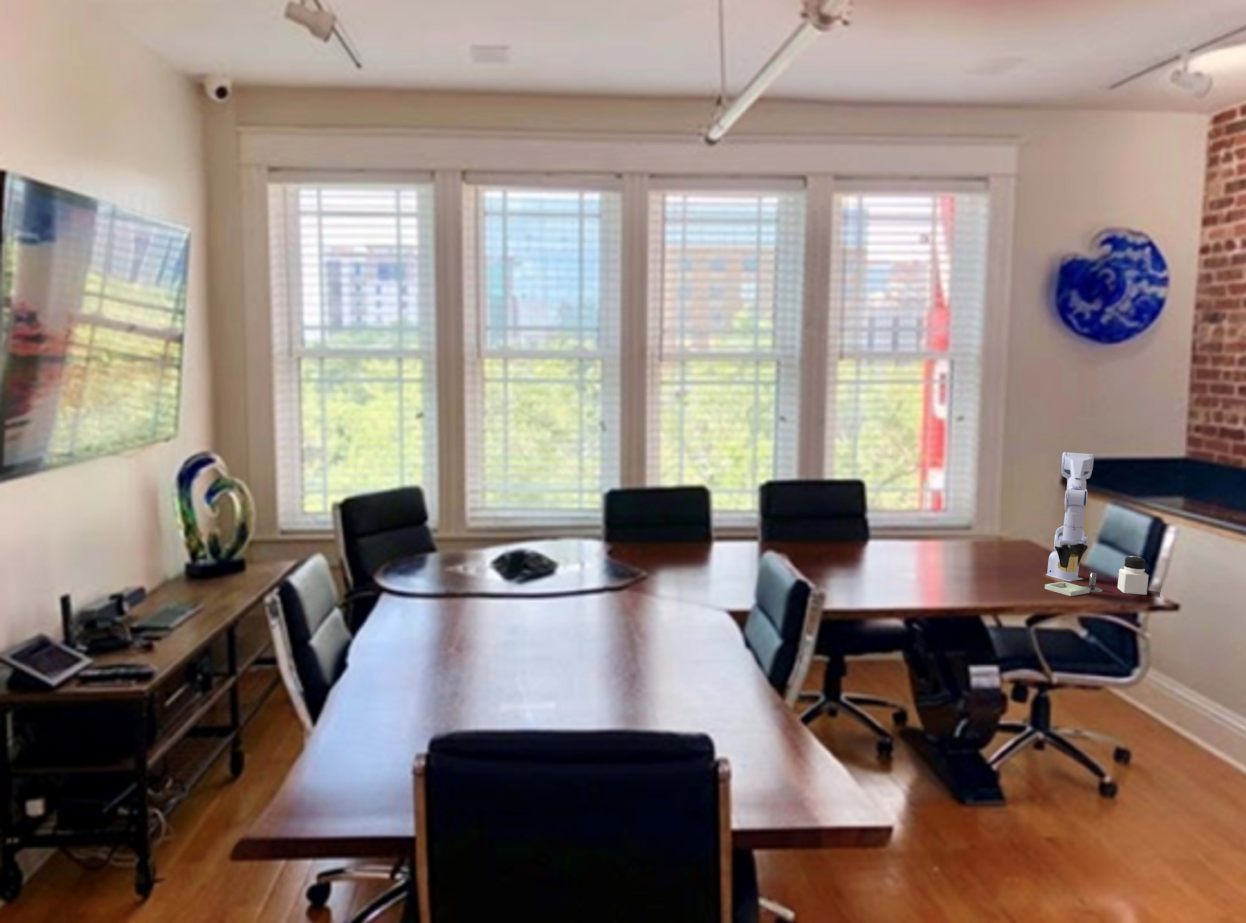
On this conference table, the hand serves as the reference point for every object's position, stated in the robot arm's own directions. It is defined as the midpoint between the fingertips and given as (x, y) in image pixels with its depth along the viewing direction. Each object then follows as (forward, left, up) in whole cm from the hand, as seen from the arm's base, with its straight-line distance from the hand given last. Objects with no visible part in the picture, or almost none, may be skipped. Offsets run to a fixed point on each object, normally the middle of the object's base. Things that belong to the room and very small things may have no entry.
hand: (1069, 566), depth 317 cm
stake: (+2, +10, -9) cm, 13 cm away
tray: (0, 0, -9) cm, 9 cm away
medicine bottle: (+9, +21, -9) cm, 25 cm away
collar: (0, 0, -1) cm, 1 cm away
